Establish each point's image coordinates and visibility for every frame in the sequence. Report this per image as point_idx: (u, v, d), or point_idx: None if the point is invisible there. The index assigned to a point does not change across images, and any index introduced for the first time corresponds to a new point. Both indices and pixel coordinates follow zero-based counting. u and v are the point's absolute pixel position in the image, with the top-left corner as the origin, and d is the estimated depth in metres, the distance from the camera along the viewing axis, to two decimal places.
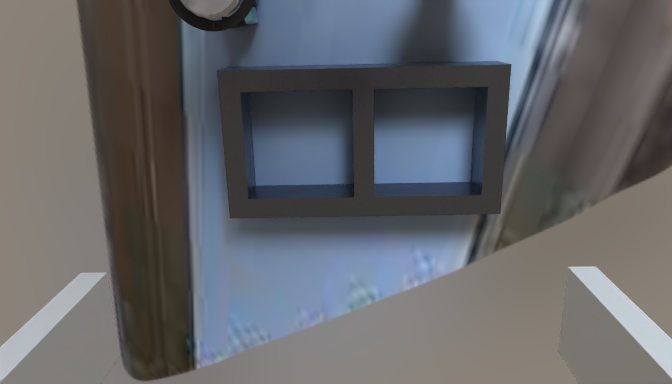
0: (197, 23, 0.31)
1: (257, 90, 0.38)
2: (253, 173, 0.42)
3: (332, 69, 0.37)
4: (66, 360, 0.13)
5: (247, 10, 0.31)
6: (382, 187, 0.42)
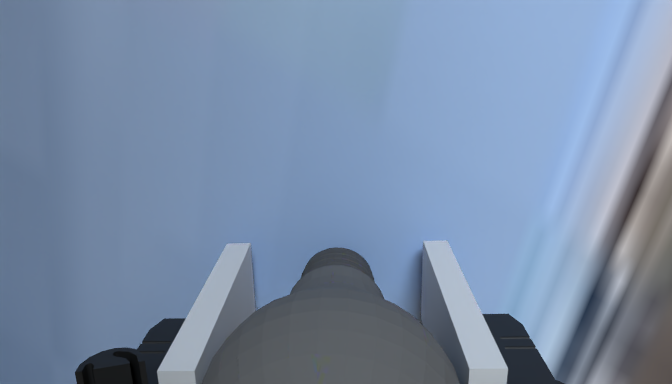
0: None
1: None
2: None
3: None
4: (236, 315, 0.14)
5: None
6: None
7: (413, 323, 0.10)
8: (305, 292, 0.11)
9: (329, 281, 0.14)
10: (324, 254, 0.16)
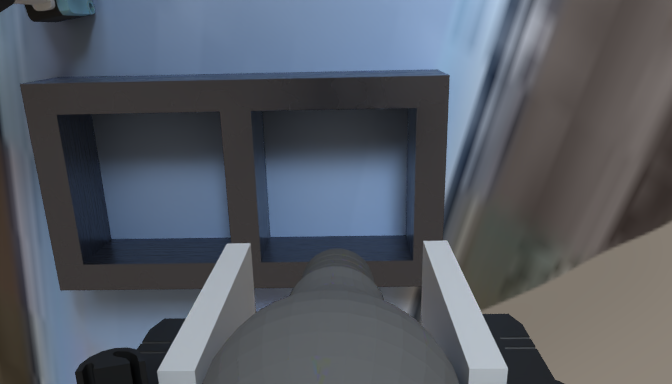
0: None
1: (81, 112, 0.26)
2: (103, 223, 0.31)
3: (188, 82, 0.25)
4: (236, 315, 0.14)
5: None
6: (281, 243, 0.30)
7: (413, 325, 0.10)
8: (305, 294, 0.11)
9: (329, 282, 0.14)
10: (324, 255, 0.16)
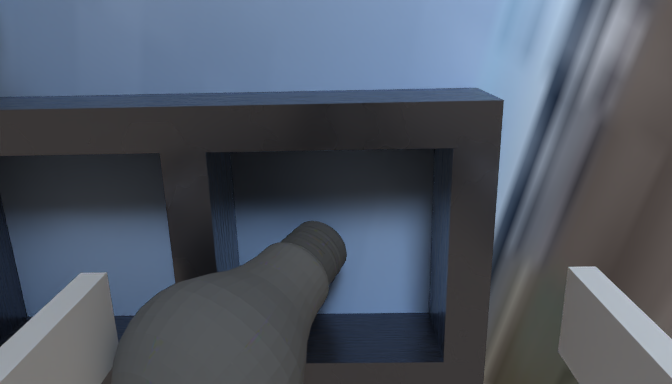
0: None
1: None
2: (12, 299, 0.22)
3: (110, 110, 0.17)
4: (66, 360, 0.13)
5: None
6: None
7: (249, 328, 0.14)
8: (198, 282, 0.15)
9: (265, 262, 0.17)
10: (303, 226, 0.20)
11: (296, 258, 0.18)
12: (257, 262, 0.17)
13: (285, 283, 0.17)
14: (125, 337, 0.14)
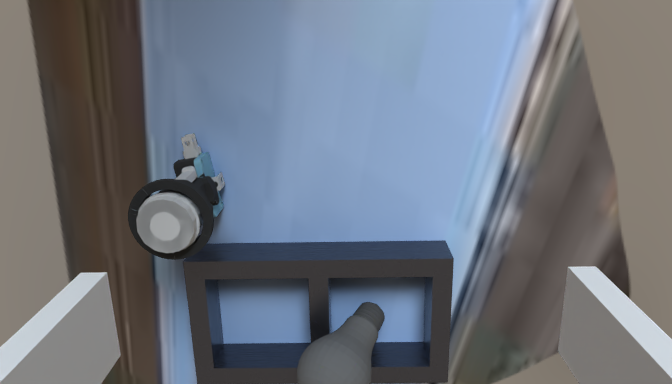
0: (159, 253, 0.34)
1: (220, 278, 0.41)
2: (220, 335, 0.45)
3: (289, 261, 0.40)
4: (66, 360, 0.13)
5: (204, 243, 0.34)
6: None
7: (353, 361, 0.38)
8: (330, 341, 0.39)
9: (352, 327, 0.41)
10: (364, 306, 0.43)
11: (364, 324, 0.41)
12: (348, 327, 0.41)
13: (362, 338, 0.40)
14: (305, 363, 0.38)
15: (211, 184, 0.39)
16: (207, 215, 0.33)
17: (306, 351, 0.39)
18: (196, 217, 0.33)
